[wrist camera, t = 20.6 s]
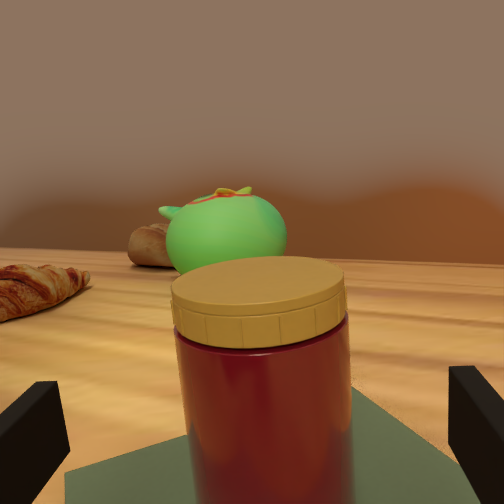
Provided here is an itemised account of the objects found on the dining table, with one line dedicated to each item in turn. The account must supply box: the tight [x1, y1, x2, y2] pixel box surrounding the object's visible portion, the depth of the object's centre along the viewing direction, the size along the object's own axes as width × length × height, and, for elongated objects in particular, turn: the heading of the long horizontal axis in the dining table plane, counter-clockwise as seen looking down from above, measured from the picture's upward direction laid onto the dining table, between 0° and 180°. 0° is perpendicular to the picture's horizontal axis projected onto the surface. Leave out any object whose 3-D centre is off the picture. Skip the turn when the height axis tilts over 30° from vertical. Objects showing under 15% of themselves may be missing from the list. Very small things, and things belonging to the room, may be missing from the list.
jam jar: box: [174, 310, 356, 504], centre depth 22 cm, size 8×8×11 cm
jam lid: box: [171, 256, 347, 348], centre depth 21 cm, size 8×8×2 cm
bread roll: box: [128, 224, 174, 267], centre depth 84 cm, size 10×15×8 cm, turn 57°
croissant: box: [0, 264, 90, 322], centre depth 65 cm, size 21×10×8 cm, turn 151°
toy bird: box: [159, 187, 287, 275], centre depth 68 cm, size 18×17×15 cm
